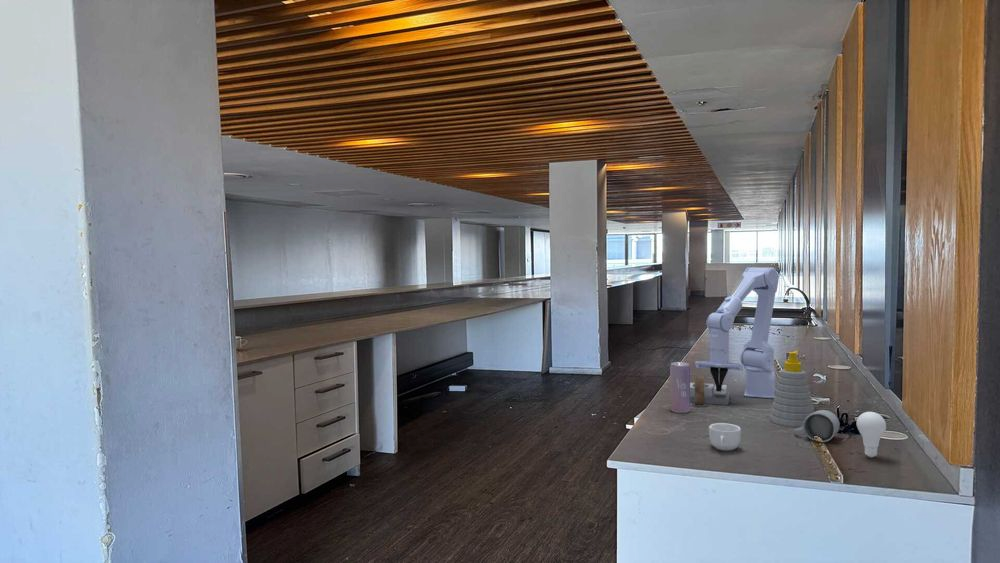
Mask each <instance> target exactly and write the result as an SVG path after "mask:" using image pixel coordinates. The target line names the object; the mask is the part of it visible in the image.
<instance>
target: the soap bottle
mask: <svg viewBox="0 0 1000 563" xmlns="http://www.w3.org/2000/svg"><path fill="white" fill-rule="evenodd" d="M798 353H800V350H794V351H789V352H788V358H787V360H786V361H784V368H783V369H781V370H780V371H779V376H778V378H777V379H778V380H777V384H776V392H775V396H774V398H773V402H772V408H771V411H770V415H769V420H770V421H771V423H773V424H774V425H775V424H776V425H778V426H782V427H787V428H788V427H790V428H799V427H802V426H803V423H804V420H805V419H806V417H807V416H808V415H810V414H812V413H814V412H815V409H814V404H813V399H812V393H811V391H810V385H809V381H808V380H809V379H808V377H807V372H806V371H805V370H803V369H802V362H801V361H799V358H798Z"/></svg>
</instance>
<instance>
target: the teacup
mask: <svg viewBox="0 0 1000 563" xmlns="http://www.w3.org/2000/svg"><path fill="white" fill-rule="evenodd" d="M708 434H709V435H708V436H709V437H708V438H709V442H710V444H711V445H712V446H713V447H714V448H716V449H717V450H718V451H719V450H720V451H725V452H726V451H728V452H729V451H731V452H732V451H734V450H735V449H737V448H738V447H739V445H740V442H741V435H742V429H741V427H740V426H739V425H737V424H733V423H732V424H731V423H726V422H717V423H712V424H710V425H709V426H708Z"/></svg>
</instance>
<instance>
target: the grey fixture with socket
mask: <svg viewBox="0 0 1000 563" xmlns="http://www.w3.org/2000/svg"><path fill="white" fill-rule="evenodd" d="M714 388H715V383H704V403H705V404H707V403H708V404H711V405H721V406H722V405H724V406H729V402H730V399H731V391H726V394H714ZM693 402H694V403H695V382H690V403H693Z"/></svg>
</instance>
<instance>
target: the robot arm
mask: <svg viewBox="0 0 1000 563" xmlns="http://www.w3.org/2000/svg"><path fill="white" fill-rule="evenodd" d="M741 276H742V280H741V281H740V284H739V285H738V286H737V288H736V290H735V291H734V293H733V295H731V296H730V295H729V296H727V297H726V296H725V298H724V301H723V302H722V303H721V304H720V306H719V307H718V308H717V309H716V311H715V312H712V313H710V314H709V315H708V317H707V318H706V319H707V320H706V322H705V323H706V327H707V328H708V334H709V335H710V336H709V344H710V345H709V349H710V350H709V361H705V360H703V361H701V360H700V361H699V360H695V368H697V369H699V368H703V369H704V368H705V369H710V370H709V371H710V372H709V373H710V374H711V376H712V379H713V381H714V386H715V385H716V391H721V388H722V385H724V384H723V383H724V380H725V377H726V376H727V374H728V371H729V370H731V371H733V370H734V371H735V370H736V371H744V369H745V390H744V397H749V398H762V399H763V398H766V399H774V396H775V392H776V389H777V386H775V370H773V369H772V368H773V366H774V365H775V357H774V353H775V349H774V348H773V347H772V346H771V344H769V343H768V342H769V335H770V330H771V324H772V319H773V318H772V317H773V312H774V311H773V310H774V306H775V298H776V293H777V291H778V286H779V281H780V280H779V279H780V275H779V273H778V271H777V269H776V268H775V267H772V266H771V267H758V266H757V267H753V266H752V267H751V266H748V267H746V268H745V270H744V272H743V273H742V274H741ZM752 291H753V292H755V293H756V294H757V302H756V308H755V313H754V320H753V324H752V326H753V327H752V331H751V338H750V340H749V341H747V342H745V344H744V345H743V350H742V351H741V353H740V357H739V359H740V363H736V362H729V352H730V351H729V350H730V349H729V348H730V347H729V339H730V333H729V332H730V331H731V329H733V326H734V322H735V318H736V316H737V314H738V313H739V312H740V311H741V310H742V309H743V303H742V302H743V301H744V300H745V299H746V297H748V295H749V294H750V293H751V292H752ZM771 369H772V370H771Z"/></svg>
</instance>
